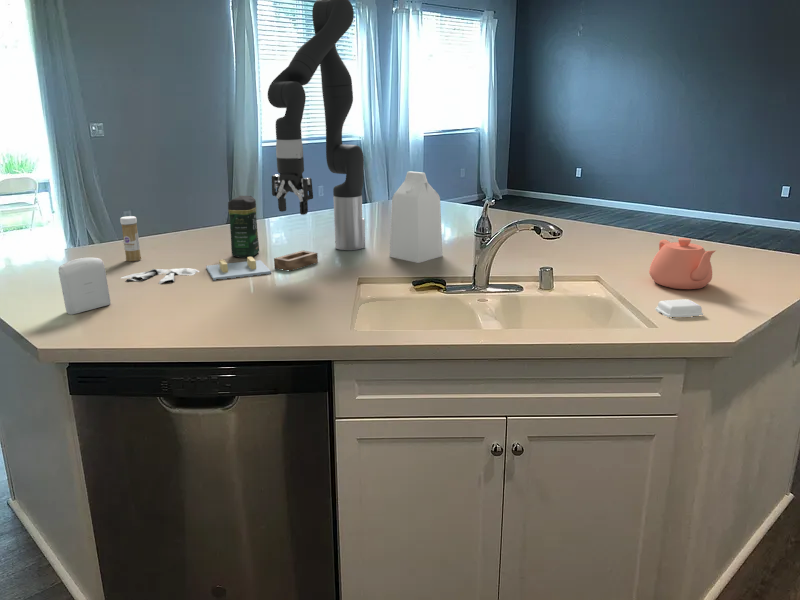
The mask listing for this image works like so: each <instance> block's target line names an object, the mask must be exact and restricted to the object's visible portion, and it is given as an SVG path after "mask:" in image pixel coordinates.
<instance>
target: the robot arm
mask: <svg viewBox="0 0 800 600" xmlns="http://www.w3.org/2000/svg"><path fill="white" fill-rule="evenodd" d="M311 12H312V16H311V17H312V24H313V31H314V35H313V36H312V37H311V38H310V39H308V40H307V41H306V42H305V43H304V44H302V46H300V48H298V50H297V51H296V53H295V54H294V56H293V57H292V60H291V61H290V62H289V64H288V66H287V67H285V68H284V70H282V71H280V73H279V74H278V75H277V76H275V78H274V79H273V80H272V81H271V83H269V84H270V85H269V86H268V89H267V99H268V103H270V105H271V106H273V107H274V108H276V109H285V112H284V115H283V116H282V117H278V118H277V119H276V120H275V139H276V140H275V142H276V144H275V151H276V153H275V154H276V156H275V157H276V169H277V170H276V171H277V173H278V174H273V175H271V194H272V197H276V199H277V205H278V210H279V212H282V213H283V212H286V211H287V198H286V197H287V194H288V193H289V192H290V193H294V195H295V196H297V197H298V200H299V214H300V215H303V216H304V215H307V214H308V212H309V207H308V206H309V204H308V202H309V201H310V200H312V199H314V191H313V179H312V178H311V177H304V176H303V173H304V172H305V163H304V161H305V159H304V147H303V140H302V120H303V117H304V116H303V115H304V110H305V104H306V98H307V97H306V96H307V95H306V92H305V88H304V87H303V86H306V85H308V84H309V83H310V81H311V80H312V78H313V76H314V75H315V73H316V72H317V69H318V68H320V74H321V75H320V76H321V77H320V78H321V91H322V98H323V108H324V109H323V110H324V121H325V122H324V123H325V156H326V157H325V159H326V164H327V168H328V170H329V171H330V172H331V173H332V174H337V175H338V174H339V175H345V180H344V182H342V183H341V184H338V185H334V187H333V188H332V189H333V190H332V193H333V197H332V198H333V217H334V220H333V221H334V246H335V247H334V248H335V249H337V250H340V251H356V250H360V249H365V248H366V225H365V224H366V219H365V218H363V217H364V216H363V188H364V169H365V168H364V167H365V166H364V165H365V163H364V162H365V157H364V152H363V149H362V148H361V147H360V145H358V144H357V145H356V144H345V143H344V144H343V127H344V124H345V121H346V119H347V117H348V115H349V112H350V111H351V109H352V106H353V102H354V94H353V93H354V92H353V81H352V77H351V74H350V72H349V70H348V68H347V66H346V65H345V62H344V61H343V59H342V58H341V57H340V55H339V52H338V50H337V46H336V44H337V43H338V42H339V41H340V39H341V38H342V37H343V36H344V35H345V34H346V32H347V31H348V30H349V29H350V28H351V25H352V24H353V21H354V17H355V12H354V7H353V4H352V2H351V1H350V0H315V1H314V2H313V6H312V9H311Z"/></svg>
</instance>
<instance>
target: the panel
mask: <svg viewBox="0 0 800 600" xmlns="http://www.w3.org/2000/svg"><path fill="white" fill-rule="evenodd" d="M218 261H219V264H212V265H210V264H209V265H206V270H207V272H208V274H209V273H210V274H209V275H210V277H211V279H212V278H213V279H212V280H213V281H217V280H216V279H223V280H228V279H227V278H231V279H237V278H236V277H240V278H245V277H244V276H248V277H254V276H253V275H257V276H262V275H261V274H266V275H271V274H272V271H271V269H270V268H269V267H268V266H267V265H266V264H265V263H264V262H263V261H262V260H261V259H258V260H255V258H254V256H252V257H250V256H249V257H246V261H238V262H229V263H228V262H227V261H226V260H225V259H224V258H223V259H219V260H218ZM270 273H271V274H270Z"/></svg>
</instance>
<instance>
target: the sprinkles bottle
mask: <svg viewBox="0 0 800 600" xmlns="http://www.w3.org/2000/svg"><path fill="white" fill-rule="evenodd" d="M137 220H138V219H137V217H136V216H133V215H129V216H128V215H127V216H122V217H120V218H119V221H120V224H121V230H122V236H123V237H122V238H123V247H124V252H125V261H126V262H132V263H133V262H138V261H140V260H142V256H141V246H140V240H139V238H140V237H139V232H138V225H137V222H138V221H137Z"/></svg>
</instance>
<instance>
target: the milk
mask: <svg viewBox="0 0 800 600" xmlns="http://www.w3.org/2000/svg"><path fill="white" fill-rule="evenodd" d="M428 181H429V180H428V179H427V175H426V173H425V172H421V171H420V172H419V171H407V172H406V175H405V178H404V181H403V182H402V183H401V184H400V186H399V187H398V188H397V190H396V191H395V192H394V193H393V195H392V197H391V198H392V199H391V212H390V232H389V233H390V237H389V238H390V240H389V257H390V258H395V259H398V260H404V261H407V262H412V263H417V264H420V263H423V262H426V261H429V260H430V261H431V260H434V259H436V258H441V257H443V237H442V235H443V234H442V211H441V210H442V209H441V207H442V206H441V197H440V195H439V193H438V192H437V191H436V189H434V188H433V186H432V185H431V184H430V183H429V182H428Z"/></svg>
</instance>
